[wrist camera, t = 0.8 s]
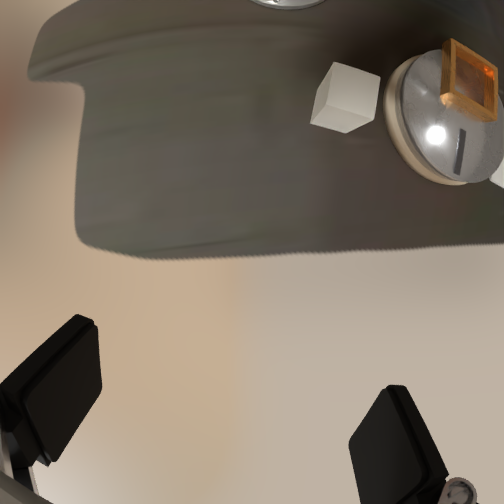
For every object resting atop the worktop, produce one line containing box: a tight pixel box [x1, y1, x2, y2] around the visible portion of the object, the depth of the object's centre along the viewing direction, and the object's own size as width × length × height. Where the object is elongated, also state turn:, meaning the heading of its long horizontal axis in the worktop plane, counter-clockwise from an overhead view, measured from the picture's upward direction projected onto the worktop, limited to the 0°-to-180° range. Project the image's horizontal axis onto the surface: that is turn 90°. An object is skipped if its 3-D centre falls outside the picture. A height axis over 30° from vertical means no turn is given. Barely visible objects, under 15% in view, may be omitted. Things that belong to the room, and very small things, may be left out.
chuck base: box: [383, 55, 468, 185], centre depth 26 cm, size 16×16×2 cm
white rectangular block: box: [310, 62, 380, 133], centre depth 24 cm, size 4×4×9 cm
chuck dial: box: [395, 38, 504, 183], centre depth 23 cm, size 15×15×5 cm
